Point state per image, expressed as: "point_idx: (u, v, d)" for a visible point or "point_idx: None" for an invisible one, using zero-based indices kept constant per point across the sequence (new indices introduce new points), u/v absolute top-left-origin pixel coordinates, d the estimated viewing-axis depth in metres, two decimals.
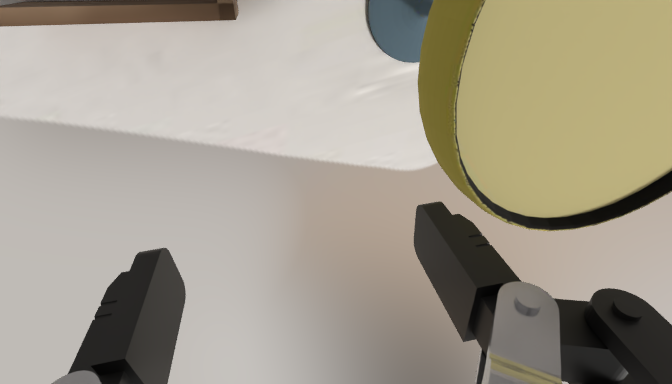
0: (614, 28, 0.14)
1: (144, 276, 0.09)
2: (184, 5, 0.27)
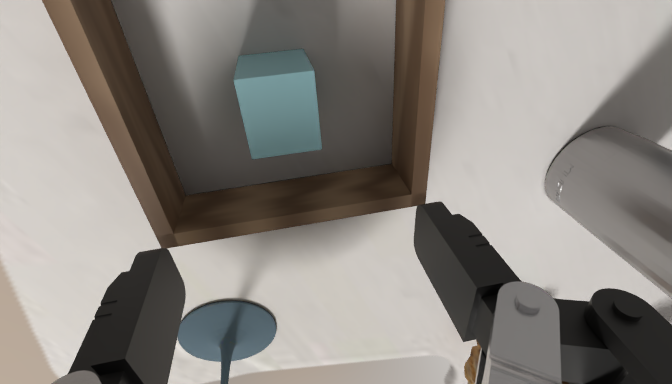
0: None
1: (144, 276, 0.09)
2: (159, 206, 0.23)
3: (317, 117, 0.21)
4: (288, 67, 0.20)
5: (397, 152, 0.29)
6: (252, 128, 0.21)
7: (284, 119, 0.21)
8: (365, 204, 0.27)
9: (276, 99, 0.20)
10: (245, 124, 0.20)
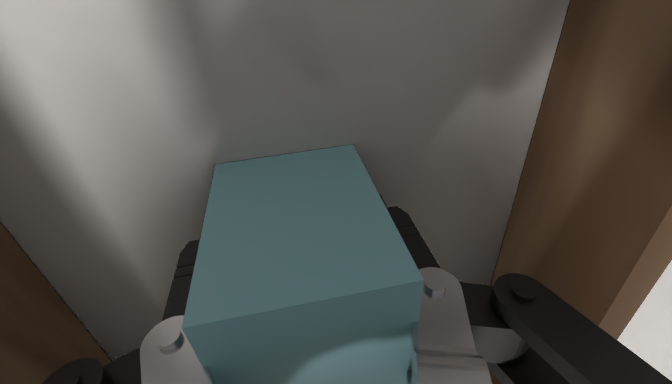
0: None
1: None
2: None
3: (411, 360, 0.08)
4: (340, 246, 0.08)
5: None
6: None
7: (327, 375, 0.08)
8: None
9: (310, 347, 0.07)
10: None
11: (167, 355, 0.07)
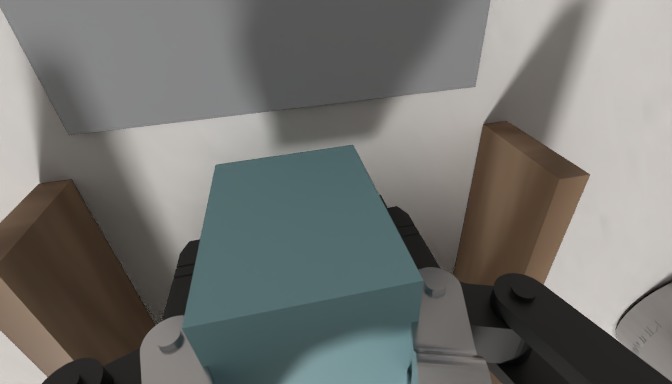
0: None
1: None
2: None
3: (410, 360, 0.08)
4: (340, 246, 0.08)
5: None
6: None
7: (327, 375, 0.08)
8: None
9: (310, 346, 0.07)
10: None
11: (167, 355, 0.07)
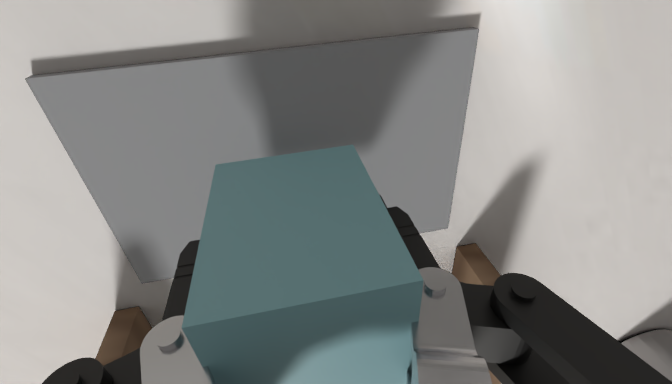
0: None
1: None
2: None
3: (410, 360, 0.08)
4: (340, 246, 0.08)
5: None
6: None
7: (327, 375, 0.08)
8: None
9: (310, 347, 0.07)
10: None
11: (167, 355, 0.07)
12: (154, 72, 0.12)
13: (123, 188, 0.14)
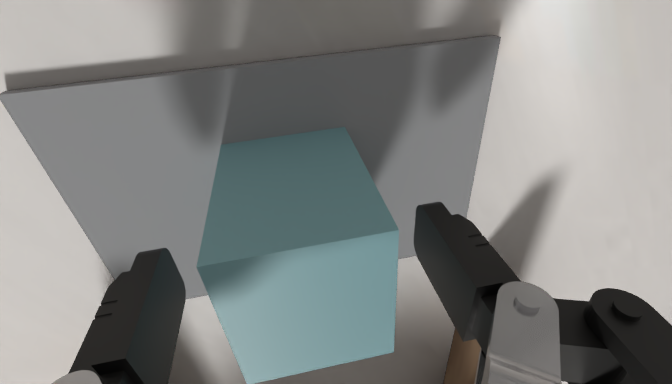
0: None
1: (144, 276, 0.09)
2: None
3: (392, 308, 0.09)
4: (330, 206, 0.09)
5: None
6: (248, 342, 0.09)
7: (319, 318, 0.09)
8: None
9: (304, 290, 0.08)
10: (231, 338, 0.09)
11: None
12: (142, 87, 0.11)
13: (110, 211, 0.13)
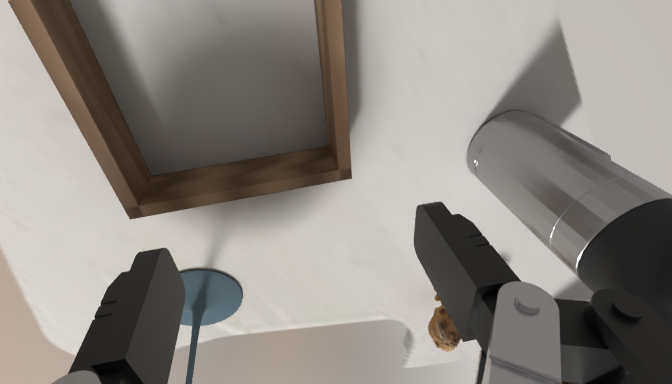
0: None
1: (144, 276, 0.09)
2: (125, 182, 0.29)
3: None
4: None
5: (329, 135, 0.34)
6: None
7: None
8: (300, 179, 0.32)
9: None
10: None
11: None
12: None
13: None
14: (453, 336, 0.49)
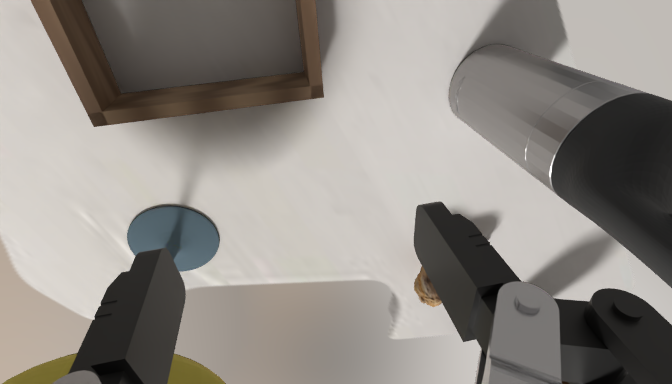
0: None
1: (144, 276, 0.09)
2: (87, 82, 0.28)
3: None
4: None
5: (303, 56, 0.34)
6: None
7: None
8: (269, 93, 0.31)
9: None
10: None
11: None
12: None
13: None
14: None
